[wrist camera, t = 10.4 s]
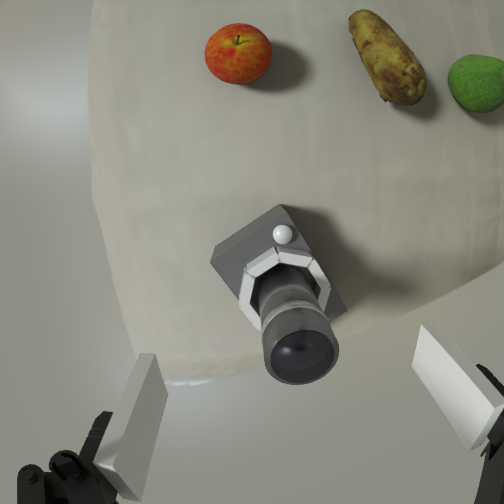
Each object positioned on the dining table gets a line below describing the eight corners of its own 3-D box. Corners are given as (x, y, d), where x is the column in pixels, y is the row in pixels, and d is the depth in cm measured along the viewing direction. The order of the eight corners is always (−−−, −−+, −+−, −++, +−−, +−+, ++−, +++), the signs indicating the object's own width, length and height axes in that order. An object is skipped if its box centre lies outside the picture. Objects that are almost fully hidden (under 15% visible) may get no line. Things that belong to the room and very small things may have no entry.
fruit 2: (477, 119, 32) (534, 116, 20) (439, 111, 32) (498, 101, 20) (471, 70, 29) (524, 56, 18) (432, 58, 29) (485, 35, 18)
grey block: (215, 246, 36) (207, 269, 28) (279, 203, 35) (289, 215, 27) (274, 325, 39) (281, 361, 32) (333, 289, 38) (353, 318, 30)
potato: (398, 29, 28) (427, 8, 21) (404, 115, 32) (439, 107, 24) (341, 15, 28) (362, -13, 20) (344, 104, 32) (370, 90, 24)
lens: (258, 313, 32) (265, 390, 20) (255, 265, 30) (261, 329, 19) (307, 308, 32) (337, 382, 20) (307, 262, 30) (343, 321, 19)
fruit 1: (257, 98, 31) (261, 79, 24) (199, 81, 30) (188, 59, 23) (276, 49, 30) (286, 21, 22) (221, 32, 29) (215, 2, 21)
